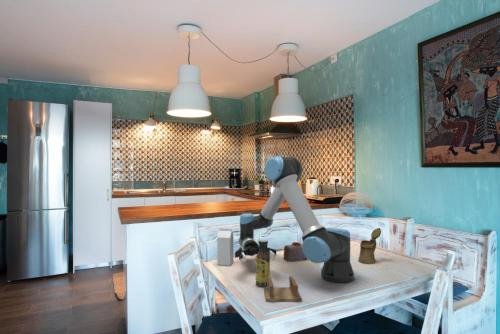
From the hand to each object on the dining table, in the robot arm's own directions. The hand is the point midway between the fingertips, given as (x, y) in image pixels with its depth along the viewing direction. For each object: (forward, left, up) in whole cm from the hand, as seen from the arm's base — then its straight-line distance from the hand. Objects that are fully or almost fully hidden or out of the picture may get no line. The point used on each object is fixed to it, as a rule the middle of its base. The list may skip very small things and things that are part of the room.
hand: (259, 258), depth 146 cm
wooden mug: (-63, -30, -11) cm, 71 cm away
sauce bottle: (-1, +3, -11) cm, 12 cm away
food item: (-23, -35, -11) cm, 43 cm away
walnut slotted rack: (-8, +15, -11) cm, 20 cm away
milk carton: (+17, -29, -11) cm, 35 cm away
